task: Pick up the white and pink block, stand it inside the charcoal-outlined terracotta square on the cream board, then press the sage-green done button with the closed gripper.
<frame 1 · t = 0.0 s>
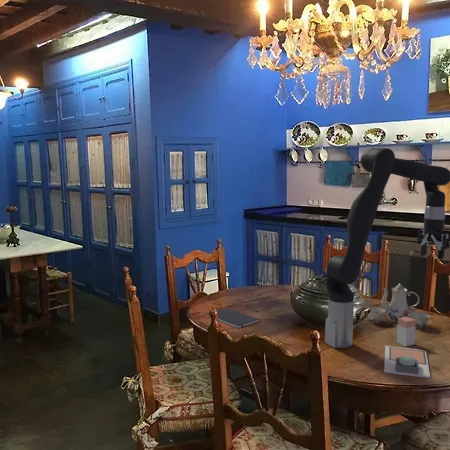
hand: (431, 257, 206), 29 cm above the table, fingers open, 8 cm apart
notebook: (232, 320, 220), on the table
done button: (407, 361, 168), point 3 cm above the table, slide at 0.0 cm
chinaware: (397, 322, 217), on the table
picture board: (411, 354, 182), on the table
white and pink block: (405, 343, 192), on the table
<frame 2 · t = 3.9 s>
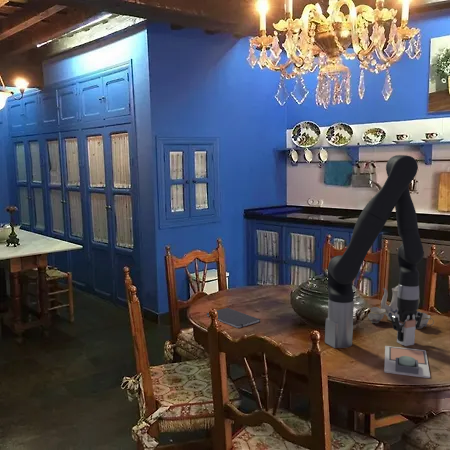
hand: (405, 339, 192), 1 cm above the table, fingers closed on white and pink block, 4 cm apart
white and pink block: (405, 343, 192), on the table, touching gripper
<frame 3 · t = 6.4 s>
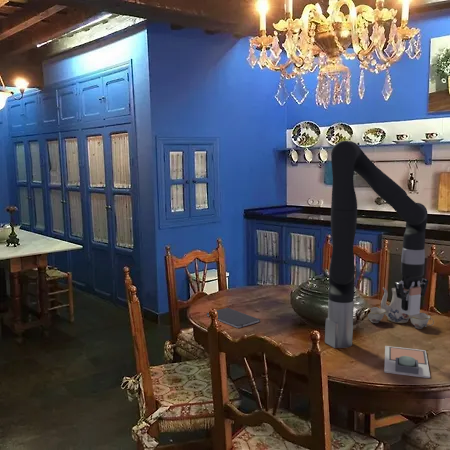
hand: (410, 308, 178), 17 cm above the table, fingers closed on white and pink block, 4 cm apart
white and pink block: (410, 312, 178), point 16 cm above the table, touching gripper
everything else where it was.
when the fingers open (3 cm above the table, at t = 9.2 s): white and pink block drops 1 cm, resting on picture board.
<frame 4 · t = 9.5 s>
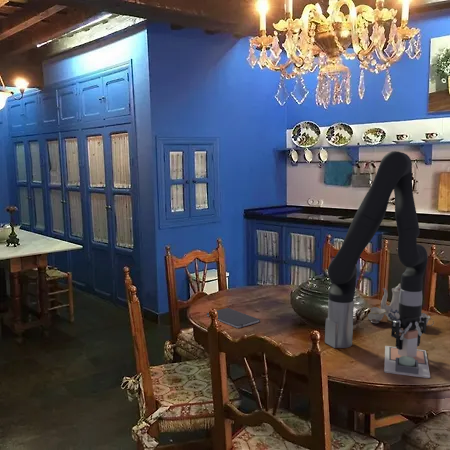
hand: (407, 347, 179), 4 cm above the table, fingers open, 7 cm apart
white and pink block: (407, 355, 179), point 1 cm above the table, touching picture board
everything else where it was.
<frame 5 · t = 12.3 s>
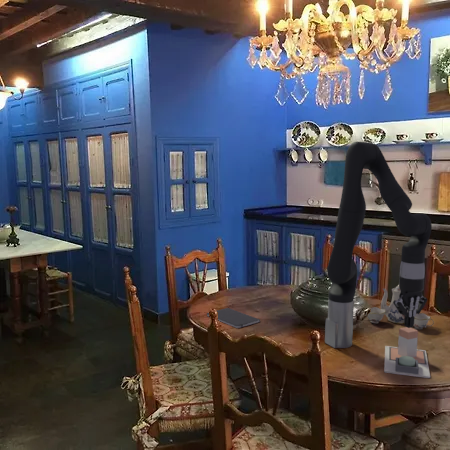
hand: (409, 326, 167), 15 cm above the table, fingers closed
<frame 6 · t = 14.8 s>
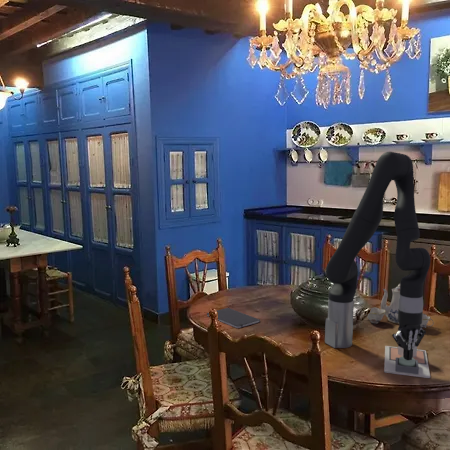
hand: (407, 359, 168), 4 cm above the table, fingers closed
done button: (407, 362, 168), point 3 cm above the table, slide at 0.1 cm, touching gripper
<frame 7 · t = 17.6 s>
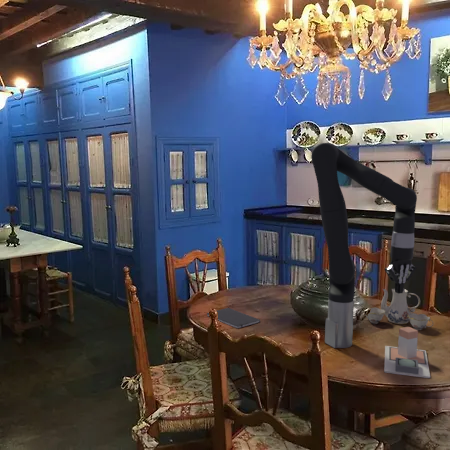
hand: (398, 292, 181), 22 cm above the table, fingers closed
done button: (406, 364, 169), point 2 cm above the table, slide at 1.1 cm
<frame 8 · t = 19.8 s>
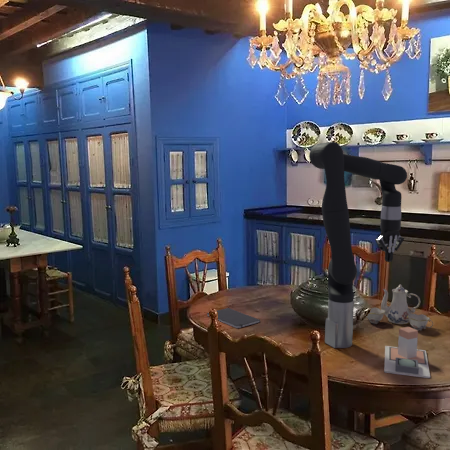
hand: (388, 261, 199), 29 cm above the table, fingers closed
at the end: white and pink block 0.2 cm from the target spot, point 0.7 cm above the table; white and pink block tilted 0°; done button slide at 1.1 cm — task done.
